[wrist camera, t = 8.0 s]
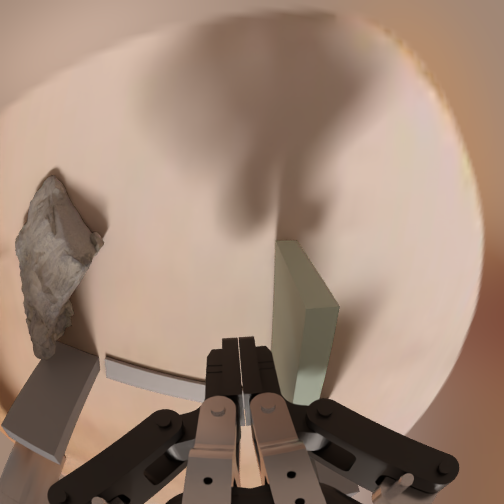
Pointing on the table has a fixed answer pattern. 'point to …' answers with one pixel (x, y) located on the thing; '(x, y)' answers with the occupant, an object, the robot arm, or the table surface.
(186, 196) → the table surface
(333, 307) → the door
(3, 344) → the table surface
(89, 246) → the stone
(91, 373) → the door frame
